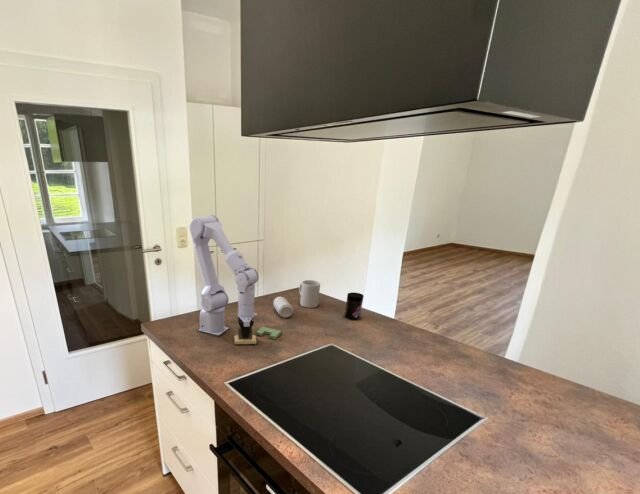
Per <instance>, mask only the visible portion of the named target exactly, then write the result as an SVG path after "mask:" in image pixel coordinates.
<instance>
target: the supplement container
mask: <svg viewBox="0 0 640 494" xmlns="http://www.w3.org/2000/svg"><path fill="white" fill-rule="evenodd" d="M346 295H347V296H346V303H345V310H344V318H346V319H348V320H351V321H352V320H353V321H357V320H359V319H360V318H361V314H362V308H363V301H364V294H363V293H360V292H348V293H347V294H346Z"/></svg>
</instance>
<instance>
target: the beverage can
mask: <svg viewBox="0 0 640 494" xmlns="http://www.w3.org/2000/svg"><path fill="white" fill-rule="evenodd" d="M272 304H273V307H274V309H275V310H276V312H277V313H278V315H279V316H280V317H281V318H283V319H287V318H289V317H291V316H292V315H293V313H294V308H293V306H292V305H291V304H290V302H289V301H288V300H287V298H286V297H284V296H282V295H281V296H277V297H275V298H274V299H273V303H272Z"/></svg>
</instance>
